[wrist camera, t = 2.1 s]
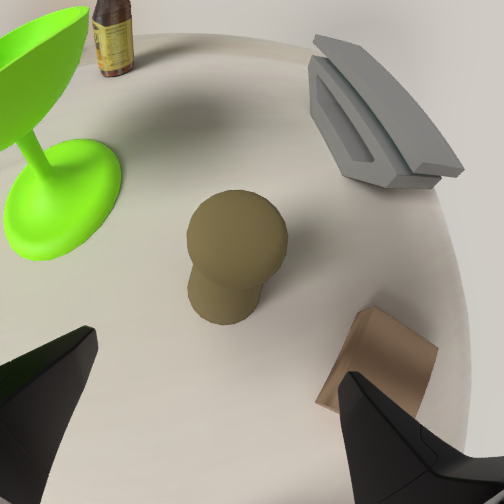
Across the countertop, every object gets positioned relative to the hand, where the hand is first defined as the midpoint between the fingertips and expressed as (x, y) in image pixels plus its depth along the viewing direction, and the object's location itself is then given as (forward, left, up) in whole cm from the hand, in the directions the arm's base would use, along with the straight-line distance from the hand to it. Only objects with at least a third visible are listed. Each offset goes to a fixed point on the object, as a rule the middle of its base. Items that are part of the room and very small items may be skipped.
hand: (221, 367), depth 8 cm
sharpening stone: (+32, -1, -13) cm, 34 cm away
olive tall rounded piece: (+6, +3, -13) cm, 14 cm away
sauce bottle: (+26, +39, -13) cm, 48 cm away
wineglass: (+4, +24, -13) cm, 27 cm away
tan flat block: (+6, -13, -12) cm, 19 cm away
